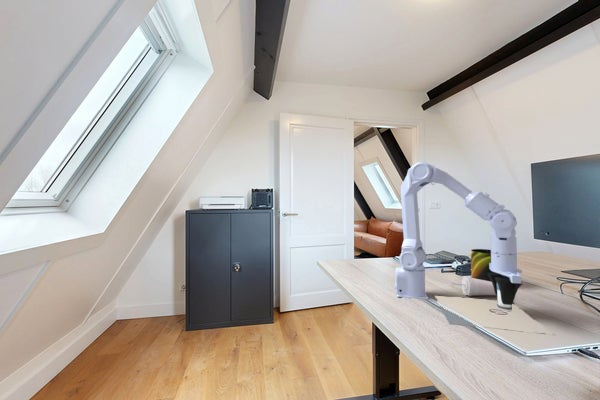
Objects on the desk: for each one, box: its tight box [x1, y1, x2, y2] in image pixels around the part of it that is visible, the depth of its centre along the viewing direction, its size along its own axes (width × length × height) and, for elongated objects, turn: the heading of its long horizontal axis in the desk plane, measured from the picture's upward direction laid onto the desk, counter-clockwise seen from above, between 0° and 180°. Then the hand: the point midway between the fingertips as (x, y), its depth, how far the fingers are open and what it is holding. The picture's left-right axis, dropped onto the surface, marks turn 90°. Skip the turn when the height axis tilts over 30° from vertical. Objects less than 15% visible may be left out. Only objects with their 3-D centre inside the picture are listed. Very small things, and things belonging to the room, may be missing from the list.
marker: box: [496, 284, 512, 312], centre depth 74 cm, size 3×3×8 cm
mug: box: [470, 248, 493, 282], centre depth 103 cm, size 10×14×12 cm
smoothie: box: [451, 275, 496, 297], centre depth 87 cm, size 6×6×14 cm
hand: (504, 301), depth 74 cm, fingers closed on marker, 3 cm apart
